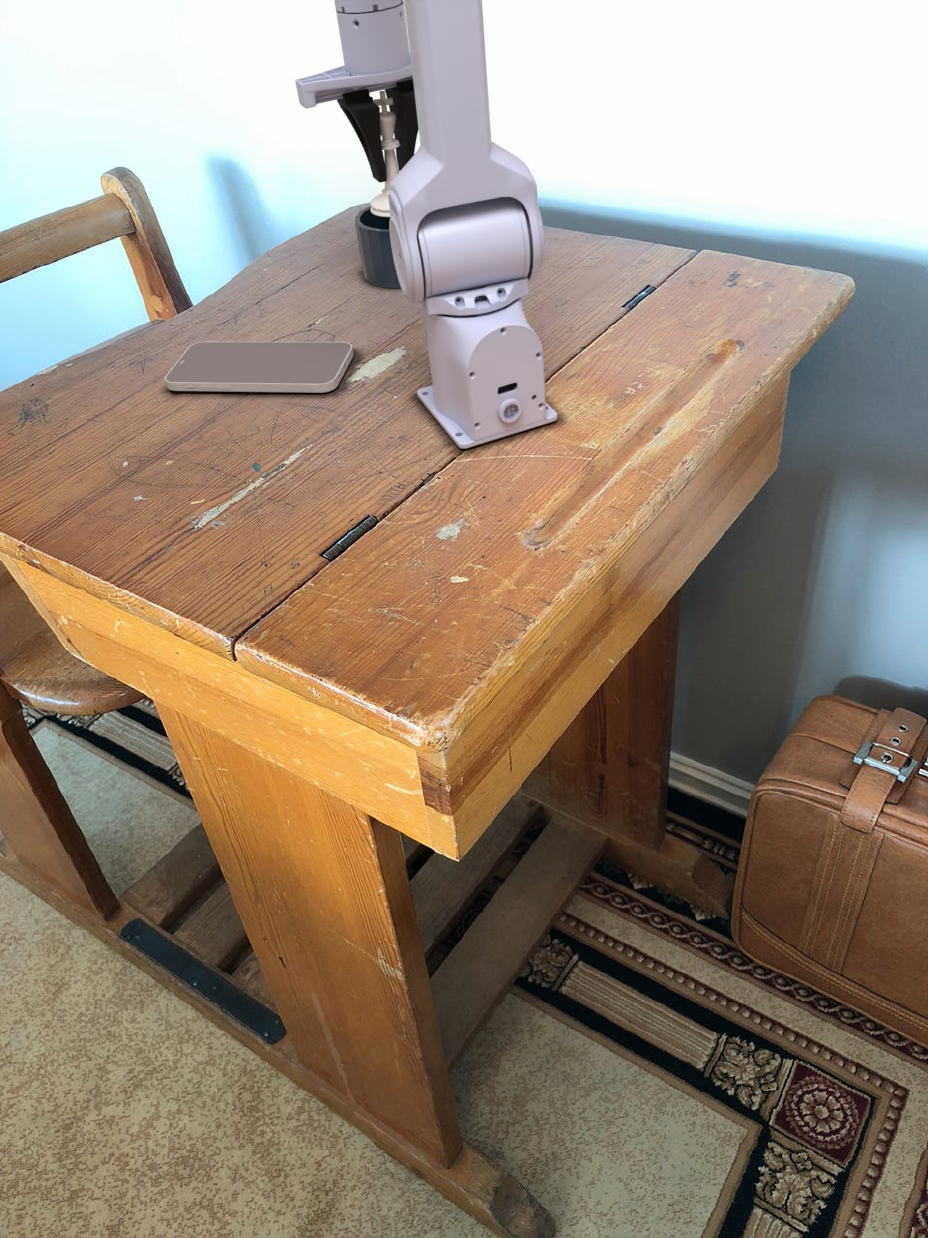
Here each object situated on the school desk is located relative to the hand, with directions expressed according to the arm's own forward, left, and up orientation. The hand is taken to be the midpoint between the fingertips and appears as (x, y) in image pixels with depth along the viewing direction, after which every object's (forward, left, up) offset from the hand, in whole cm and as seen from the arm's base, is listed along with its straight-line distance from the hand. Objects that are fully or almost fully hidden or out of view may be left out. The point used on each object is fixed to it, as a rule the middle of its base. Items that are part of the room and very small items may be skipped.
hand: (393, 175), depth 90 cm
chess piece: (0, 0, -3) cm, 3 cm away
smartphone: (-13, +18, -9) cm, 24 cm away
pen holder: (0, 0, -9) cm, 9 cm away
